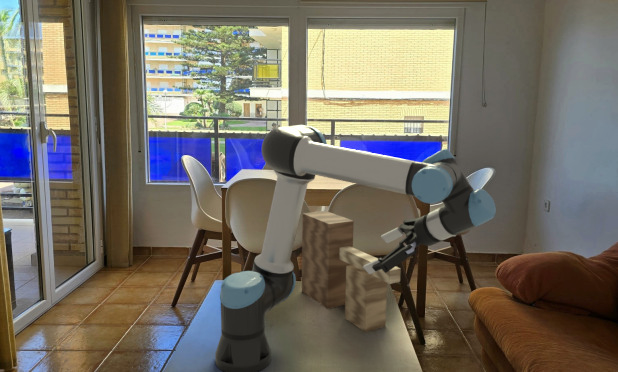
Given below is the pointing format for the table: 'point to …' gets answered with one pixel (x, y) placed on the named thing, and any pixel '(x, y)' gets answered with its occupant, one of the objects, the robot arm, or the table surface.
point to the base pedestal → (365, 299)
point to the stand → (325, 256)
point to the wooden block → (361, 259)
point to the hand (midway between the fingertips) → (375, 254)
